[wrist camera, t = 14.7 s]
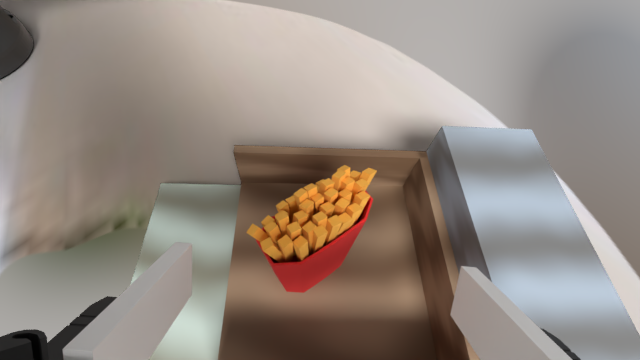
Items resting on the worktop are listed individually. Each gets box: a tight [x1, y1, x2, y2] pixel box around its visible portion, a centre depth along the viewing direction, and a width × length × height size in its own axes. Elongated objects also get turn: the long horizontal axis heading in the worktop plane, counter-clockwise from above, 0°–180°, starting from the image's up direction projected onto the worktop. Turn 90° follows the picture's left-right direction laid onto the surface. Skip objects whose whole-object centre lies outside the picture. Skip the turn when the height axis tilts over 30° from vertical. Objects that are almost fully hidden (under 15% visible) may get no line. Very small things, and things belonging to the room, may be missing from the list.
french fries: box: [246, 165, 377, 293], centre depth 22 cm, size 8×4×12 cm, turn 126°
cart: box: [131, 126, 640, 360], centre depth 24 cm, size 18×34×10 cm, turn 91°
